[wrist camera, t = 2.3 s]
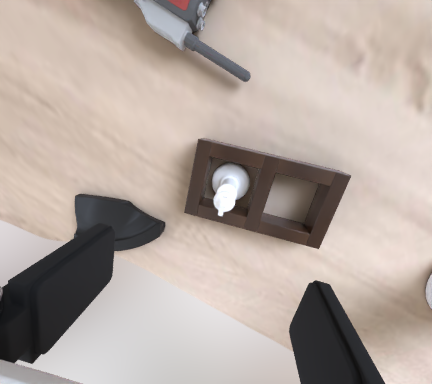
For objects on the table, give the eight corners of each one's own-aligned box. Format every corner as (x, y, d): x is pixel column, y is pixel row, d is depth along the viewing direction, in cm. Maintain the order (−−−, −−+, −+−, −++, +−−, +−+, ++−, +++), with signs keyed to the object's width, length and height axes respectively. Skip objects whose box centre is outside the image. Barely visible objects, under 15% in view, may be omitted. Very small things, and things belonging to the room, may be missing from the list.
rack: (339, 170, 24) (351, 175, 21) (311, 237, 27) (319, 249, 24) (203, 137, 26) (198, 138, 23) (190, 204, 28) (184, 212, 25)
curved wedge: (163, 257, 32) (158, 263, 30) (82, 240, 33) (74, 245, 31) (166, 207, 29) (162, 211, 27) (78, 191, 30) (69, 194, 29)
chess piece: (254, 168, 26) (258, 189, 16) (243, 203, 27) (242, 242, 18) (216, 158, 26) (199, 174, 16) (208, 194, 28) (188, 227, 18)
